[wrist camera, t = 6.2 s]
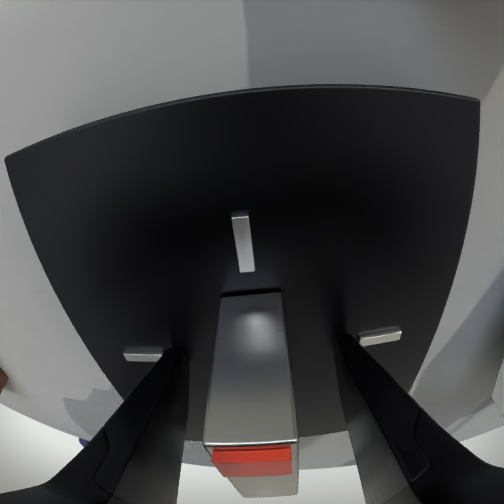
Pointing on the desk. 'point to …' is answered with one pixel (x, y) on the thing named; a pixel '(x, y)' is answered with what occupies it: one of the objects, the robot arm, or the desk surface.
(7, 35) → the desk surface
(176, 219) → the switch base
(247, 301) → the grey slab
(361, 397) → the robot arm
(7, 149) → the desk surface
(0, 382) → the button block
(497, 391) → the candle holder
